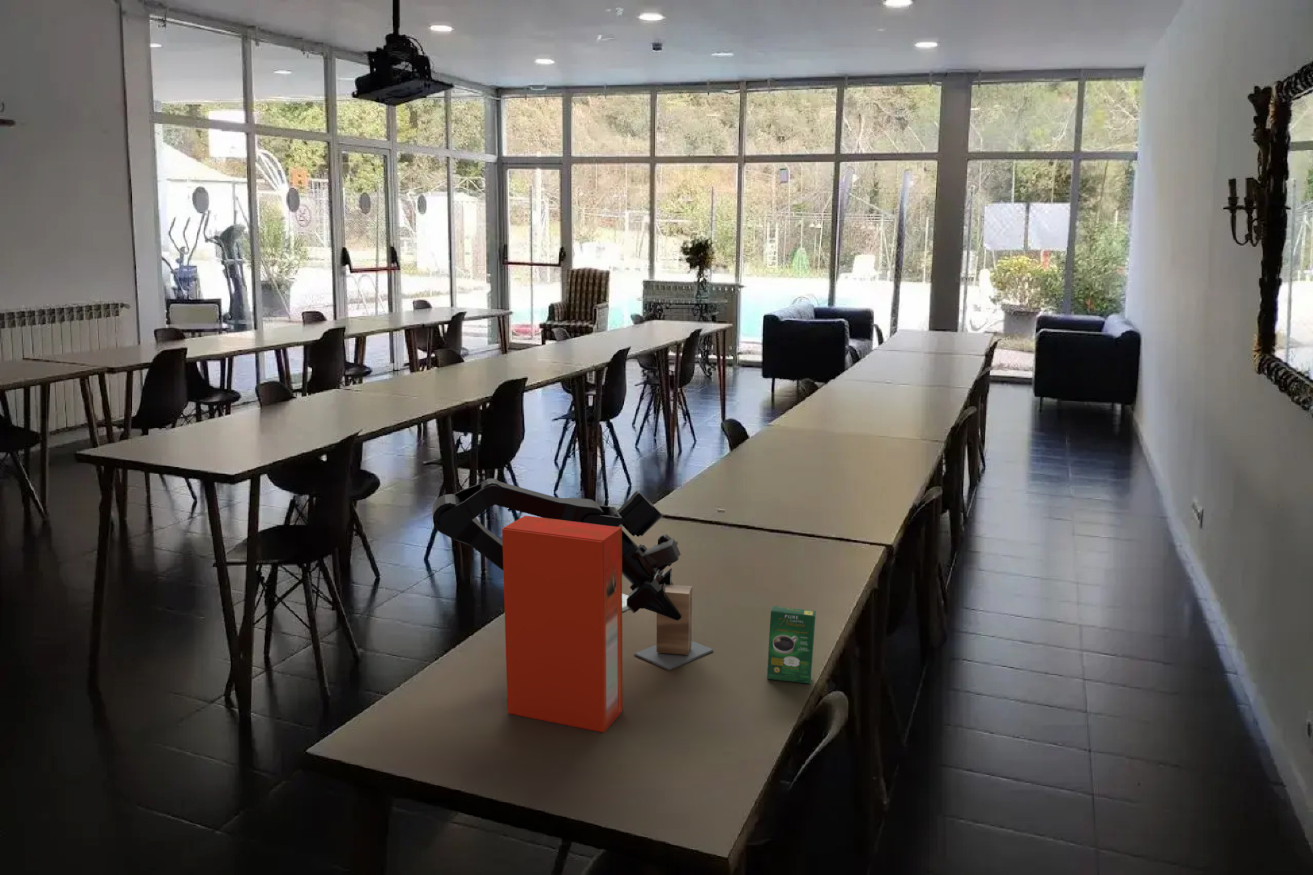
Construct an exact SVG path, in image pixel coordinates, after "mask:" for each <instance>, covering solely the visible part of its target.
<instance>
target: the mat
mask: <svg viewBox="0 0 1313 875" xmlns="http://www.w3.org/2000/svg"><path fill="white" fill-rule="evenodd" d="M713 652H714V649H713V648H711V647H708V646H706V645H703V644H701V643H698V642H696V641H693V640H692V646H691V649H690V652H689V654H688V655H683V654H671V653H659V652H657V644H654V645H652V646H649V647H647V648H645V649H642V650H639V651H637V652H635V653H634V654H633V655H634V656H635V657H637V658H639V659H642V660H644V661H647V662H649V663H650V664H654V665H656V666H657V667H660V668H662V669H665V670H667V671H670V670H672V669H675V668H677V667H680V666H682V665H685V664H686V663H689V662H691V661H694V660H697V659H698V658H701V657H703V656H706V655H708V654H710V653H713Z"/></svg>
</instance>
